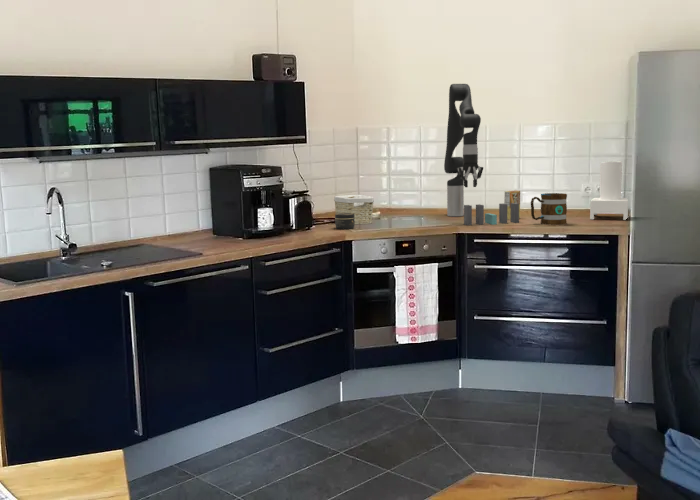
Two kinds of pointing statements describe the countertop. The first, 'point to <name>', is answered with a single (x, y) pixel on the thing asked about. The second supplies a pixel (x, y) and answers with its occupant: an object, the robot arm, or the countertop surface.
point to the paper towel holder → (610, 191)
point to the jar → (344, 221)
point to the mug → (551, 208)
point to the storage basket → (355, 207)
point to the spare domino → (490, 218)
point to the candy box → (511, 201)
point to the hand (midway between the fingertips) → (470, 187)
